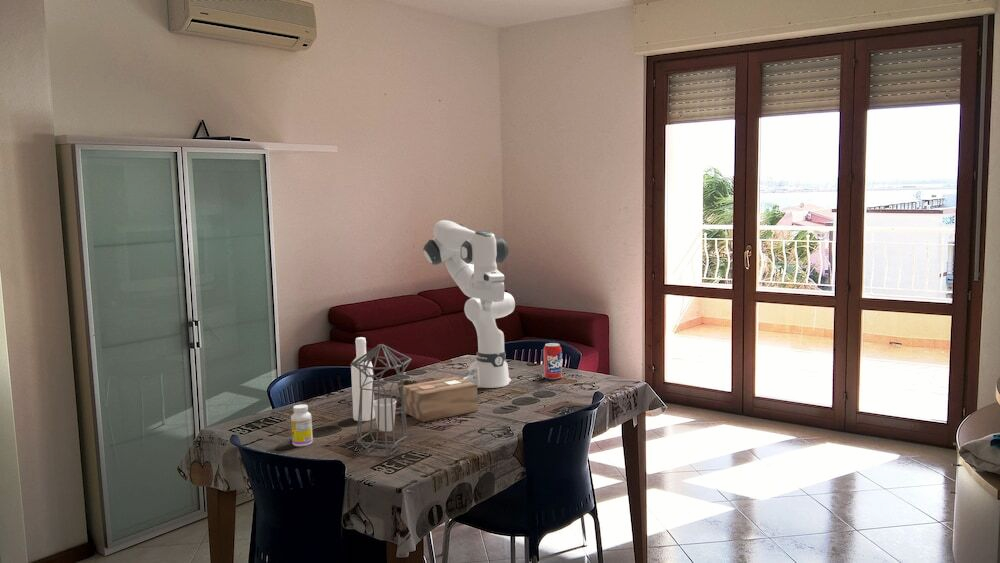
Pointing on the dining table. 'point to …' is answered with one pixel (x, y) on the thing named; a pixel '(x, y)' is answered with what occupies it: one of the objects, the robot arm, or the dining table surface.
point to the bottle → (356, 384)
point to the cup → (406, 384)
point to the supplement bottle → (301, 426)
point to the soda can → (552, 361)
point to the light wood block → (440, 399)
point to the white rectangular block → (452, 382)
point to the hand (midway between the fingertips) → (486, 311)
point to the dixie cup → (382, 413)
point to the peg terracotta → (426, 387)
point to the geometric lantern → (356, 364)
